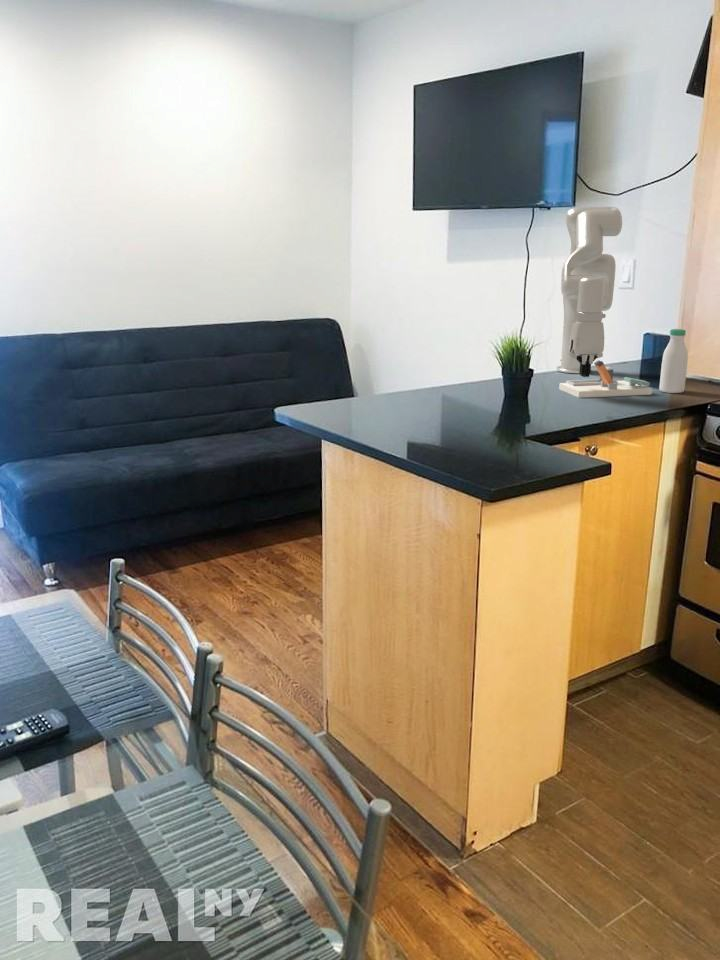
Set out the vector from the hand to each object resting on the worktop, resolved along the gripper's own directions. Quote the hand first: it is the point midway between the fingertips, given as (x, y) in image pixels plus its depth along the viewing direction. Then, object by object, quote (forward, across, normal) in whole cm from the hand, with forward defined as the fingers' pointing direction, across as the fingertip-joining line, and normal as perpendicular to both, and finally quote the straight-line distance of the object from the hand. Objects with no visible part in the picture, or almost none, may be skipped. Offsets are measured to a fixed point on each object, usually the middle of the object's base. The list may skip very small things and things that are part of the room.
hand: (584, 376), depth 259 cm
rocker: (+3, -18, +1) cm, 18 cm away
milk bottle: (+6, -30, 0) cm, 31 cm away
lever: (+3, -8, 0) cm, 9 cm away
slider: (+4, -12, -8) cm, 15 cm away
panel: (+6, -9, -4) cm, 11 cm away
